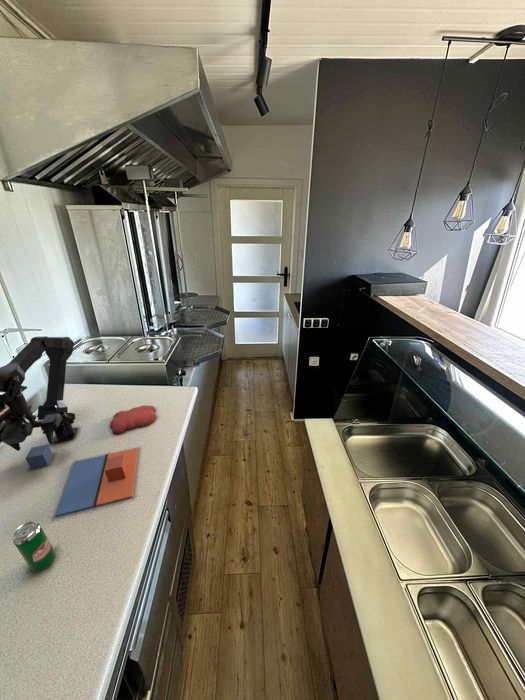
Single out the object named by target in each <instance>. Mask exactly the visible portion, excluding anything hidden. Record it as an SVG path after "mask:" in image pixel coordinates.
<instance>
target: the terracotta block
mask: <svg viewBox="0 0 525 700" xmlns="http://www.w3.org/2000/svg"><path fill="white" fill-rule="evenodd" d="M105 473H106V476H107V479H108V481H109V482H110V481H114V480H119V479H123V478H126V473H127V462H126V459H125V456H124V455H121V456H117V457H112V458H108V459H107V462H106V466H105Z"/></svg>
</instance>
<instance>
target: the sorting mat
mask: <svg viewBox="0 0 525 700" xmlns="http://www.w3.org/2000/svg"><path fill="white" fill-rule="evenodd" d="M138 452H139V448H138V447H136V448H131V449H127V450H122V451H117V452H112V453H107V454H102V455H99V456H94V457H89V458H86V459H80V460H76V461H74V462H73V466H72V468H71V470H70V474H69V476H68V479H67V482H66V483H65V488H64V490H63V492H62V495H61V498H60V501H59V503H58V506H57V508H56V512H55V514H54V516H55V517H61V516H65V515H68V514H72V513H76V512H81V511H84V510H88V509H92V508H96V507H100V506H104V505H107V504H111V503H115V502H119V501H124V500H127V499H131V498H133V495H134V487H135V480H136V479H135V477H136V469H137V461H138ZM121 455H124V456H125V459H126V462H127V473H126V478H123V479H119V480H114V481H110V482H109V481H108V479H107V476H106V473H105V466H106V462H107V459H108V458H112V457H117V456H121Z"/></svg>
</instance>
